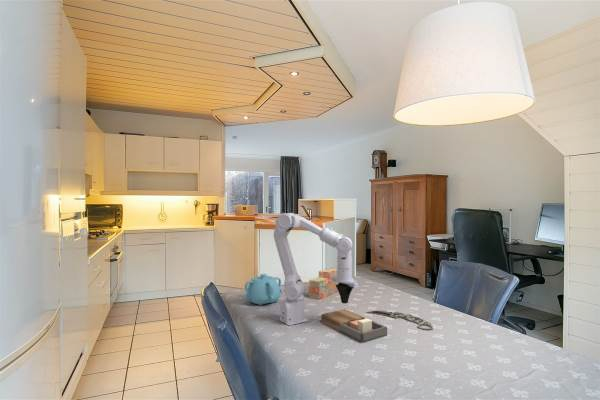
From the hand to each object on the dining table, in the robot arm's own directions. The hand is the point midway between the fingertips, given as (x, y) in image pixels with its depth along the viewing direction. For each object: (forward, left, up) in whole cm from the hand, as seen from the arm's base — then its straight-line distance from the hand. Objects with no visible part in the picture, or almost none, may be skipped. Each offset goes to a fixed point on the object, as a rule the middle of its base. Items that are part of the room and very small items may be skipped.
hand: (344, 302), depth 129 cm
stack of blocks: (+19, +40, -9) cm, 46 cm away
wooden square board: (0, +2, -9) cm, 9 cm away
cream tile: (0, -10, -6) cm, 12 cm away
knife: (+24, -7, -9) cm, 26 cm away
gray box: (0, -10, -9) cm, 13 cm away
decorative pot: (-14, +46, -9) cm, 49 cm away
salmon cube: (0, -8, -8) cm, 11 cm away
